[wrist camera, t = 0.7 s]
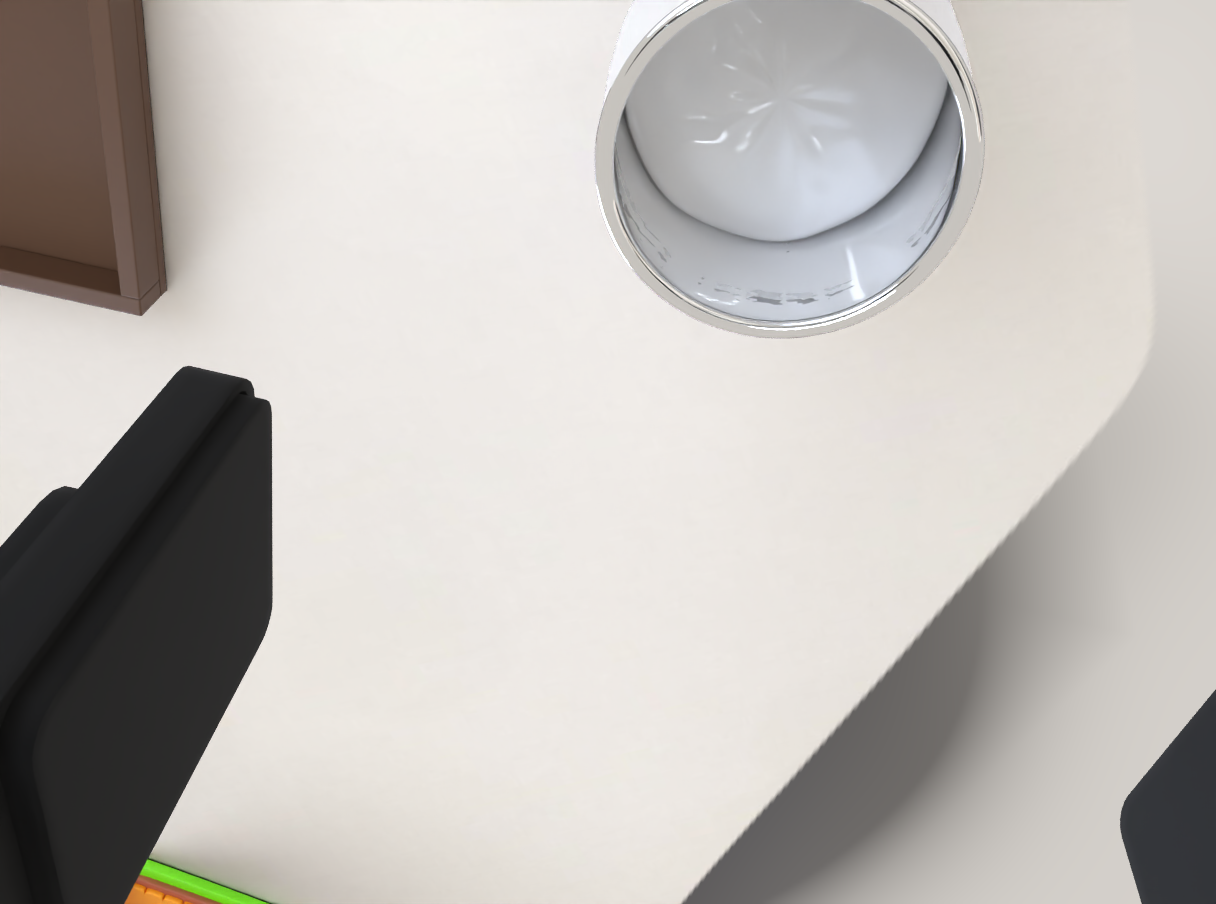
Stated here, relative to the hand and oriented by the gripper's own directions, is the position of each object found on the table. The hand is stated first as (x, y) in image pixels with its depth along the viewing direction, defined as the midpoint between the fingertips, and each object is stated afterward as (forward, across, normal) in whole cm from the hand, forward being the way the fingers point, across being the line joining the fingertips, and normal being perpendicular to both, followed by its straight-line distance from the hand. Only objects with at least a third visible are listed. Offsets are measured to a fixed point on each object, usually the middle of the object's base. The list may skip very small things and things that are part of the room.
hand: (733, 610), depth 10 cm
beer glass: (+26, 0, 0) cm, 26 cm away
